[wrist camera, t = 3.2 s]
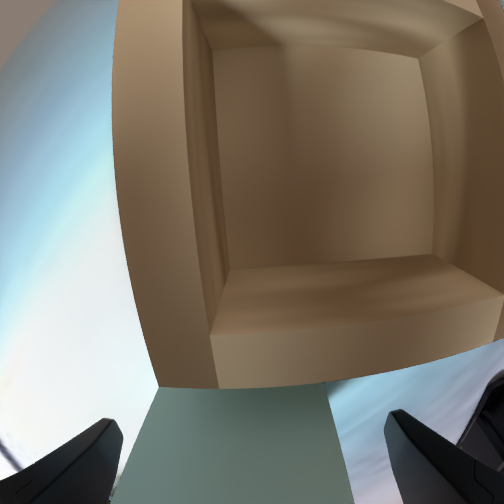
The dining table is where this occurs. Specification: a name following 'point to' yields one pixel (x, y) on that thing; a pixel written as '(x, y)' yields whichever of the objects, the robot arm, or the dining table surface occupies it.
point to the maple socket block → (309, 184)
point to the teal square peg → (237, 449)
